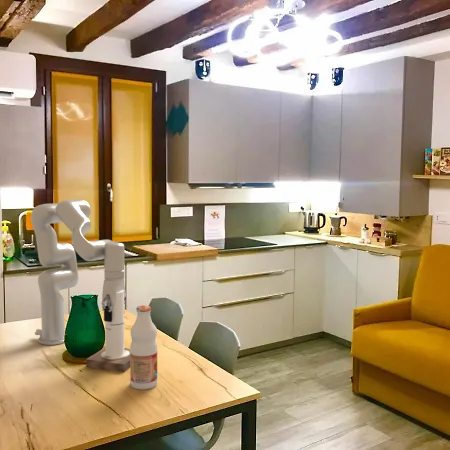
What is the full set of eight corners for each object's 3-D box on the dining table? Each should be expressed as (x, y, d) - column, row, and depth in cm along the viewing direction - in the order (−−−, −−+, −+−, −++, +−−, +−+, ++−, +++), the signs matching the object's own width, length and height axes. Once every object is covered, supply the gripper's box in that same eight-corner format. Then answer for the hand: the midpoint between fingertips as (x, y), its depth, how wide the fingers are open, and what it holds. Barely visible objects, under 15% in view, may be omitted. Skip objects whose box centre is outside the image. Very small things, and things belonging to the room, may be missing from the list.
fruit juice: (126, 382, 187) (125, 305, 184) (150, 377, 192) (150, 302, 189) (137, 392, 179) (136, 312, 176) (162, 386, 185) (162, 308, 182)
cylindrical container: (122, 357, 203) (121, 293, 200) (103, 356, 203) (103, 293, 200) (125, 350, 210) (125, 289, 207) (108, 350, 210) (107, 288, 208)
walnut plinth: (86, 366, 202) (86, 358, 201) (107, 353, 217) (107, 345, 216) (124, 372, 197) (124, 363, 197) (143, 357, 212) (142, 349, 212)
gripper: (116, 269, 213) (116, 311, 215) (93, 278, 196) (94, 323, 198) (133, 271, 210) (133, 313, 212) (111, 280, 194) (111, 325, 196)
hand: (114, 317), depth 205 cm, fingers open, 9 cm apart
